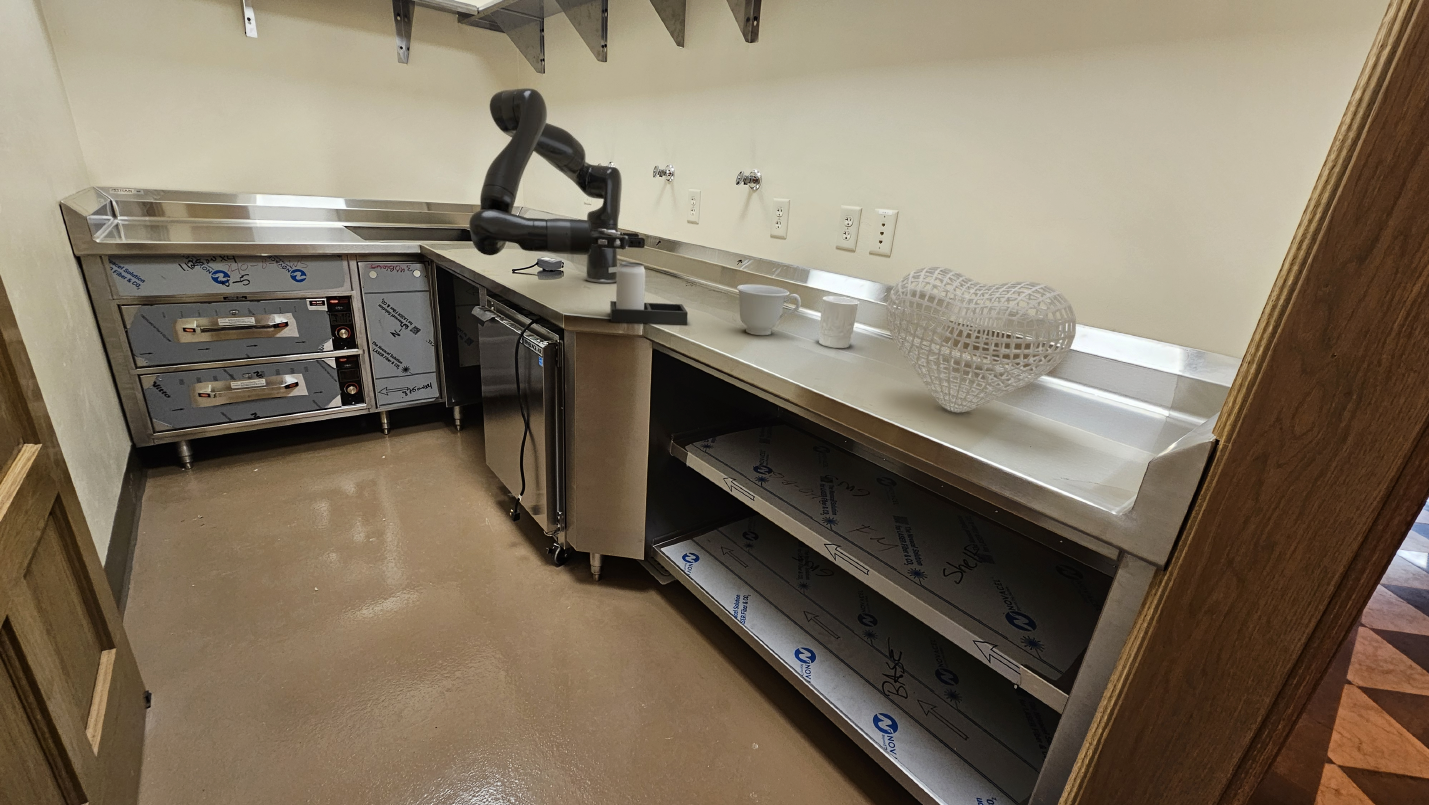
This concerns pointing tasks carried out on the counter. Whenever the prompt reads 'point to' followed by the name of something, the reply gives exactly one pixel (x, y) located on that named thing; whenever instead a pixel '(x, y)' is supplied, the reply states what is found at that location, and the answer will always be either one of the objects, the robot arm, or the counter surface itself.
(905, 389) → the counter surface
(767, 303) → the teacup
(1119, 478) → the counter surface
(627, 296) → the can
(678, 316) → the tray
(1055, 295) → the heart
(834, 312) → the white cup
